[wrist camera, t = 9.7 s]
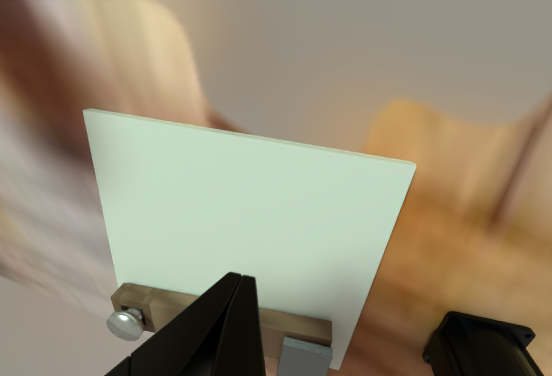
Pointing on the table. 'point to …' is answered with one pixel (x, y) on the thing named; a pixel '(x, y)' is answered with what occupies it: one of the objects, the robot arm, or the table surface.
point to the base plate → (243, 216)
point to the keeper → (303, 359)
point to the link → (169, 304)
